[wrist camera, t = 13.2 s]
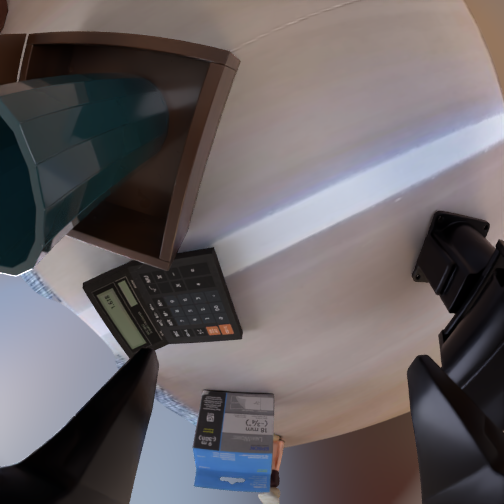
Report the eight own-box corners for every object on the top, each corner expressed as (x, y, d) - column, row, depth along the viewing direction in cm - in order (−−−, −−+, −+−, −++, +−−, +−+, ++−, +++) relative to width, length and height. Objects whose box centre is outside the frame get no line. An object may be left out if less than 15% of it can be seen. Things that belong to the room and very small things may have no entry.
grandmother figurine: (292, 443, 42) (292, 507, 32) (272, 446, 44) (270, 509, 33) (273, 429, 39) (271, 503, 28) (251, 432, 40) (246, 504, 29)
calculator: (242, 332, 27) (240, 357, 24) (136, 338, 29) (127, 360, 26) (213, 247, 22) (206, 271, 19) (94, 267, 24) (79, 288, 21)
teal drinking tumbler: (147, 55, 14) (-3, 48, 4) (185, 148, 17) (80, 248, 7) (68, 104, 15) (-72, 157, 5) (104, 184, 19) (-9, 288, 9)
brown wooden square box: (240, 60, 15) (230, 51, 10) (188, 230, 21) (168, 271, 17) (75, 36, 13) (28, 34, 9) (53, 187, 20) (14, 215, 15)
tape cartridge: (275, 392, 33) (273, 487, 22) (273, 406, 35) (271, 492, 24) (202, 388, 33) (186, 480, 23) (206, 403, 35) (193, 486, 25)
